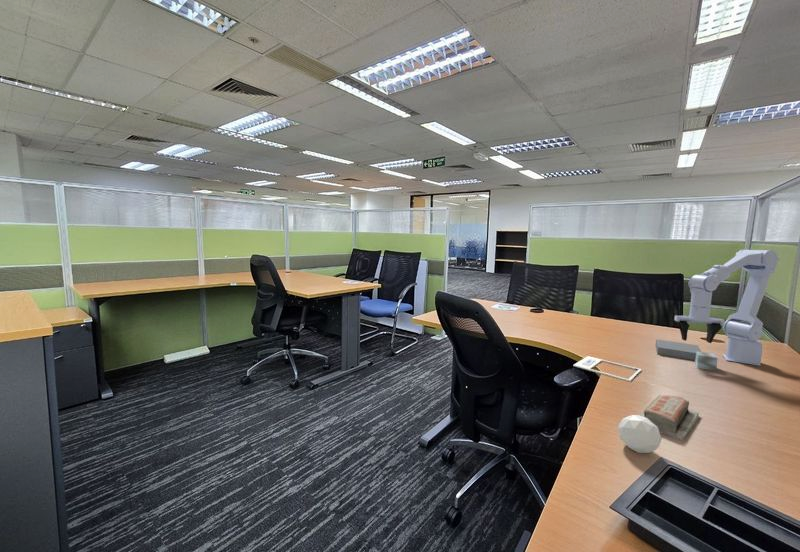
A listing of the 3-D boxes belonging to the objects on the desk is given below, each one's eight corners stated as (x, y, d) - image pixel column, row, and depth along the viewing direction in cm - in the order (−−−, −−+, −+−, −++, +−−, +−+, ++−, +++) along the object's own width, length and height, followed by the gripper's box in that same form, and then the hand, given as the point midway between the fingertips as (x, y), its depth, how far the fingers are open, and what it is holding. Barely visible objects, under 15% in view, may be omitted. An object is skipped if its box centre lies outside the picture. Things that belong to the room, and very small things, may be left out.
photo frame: (587, 355, 133) (641, 368, 120) (587, 358, 133) (641, 371, 120) (573, 364, 123) (630, 379, 110) (573, 367, 123) (630, 383, 110)
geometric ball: (630, 454, 77) (631, 419, 80) (669, 462, 70) (669, 423, 73) (609, 443, 74) (611, 408, 78) (647, 450, 68) (648, 411, 71)
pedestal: (696, 352, 141) (697, 345, 140) (702, 361, 129) (703, 354, 129) (655, 345, 149) (656, 339, 148) (657, 354, 137) (657, 347, 137)
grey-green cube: (713, 366, 124) (714, 354, 124) (716, 371, 120) (717, 358, 120) (695, 363, 127) (696, 351, 127) (697, 367, 123) (698, 355, 123)
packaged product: (685, 423, 77) (635, 407, 85) (683, 443, 77) (633, 424, 85) (700, 400, 88) (655, 387, 96) (699, 417, 89) (653, 403, 96)
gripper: (718, 306, 127) (714, 340, 128) (672, 303, 132) (669, 336, 133) (729, 309, 120) (724, 345, 122) (680, 306, 125) (676, 341, 127)
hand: (696, 341), depth 127 cm, fingers open, 7 cm apart
